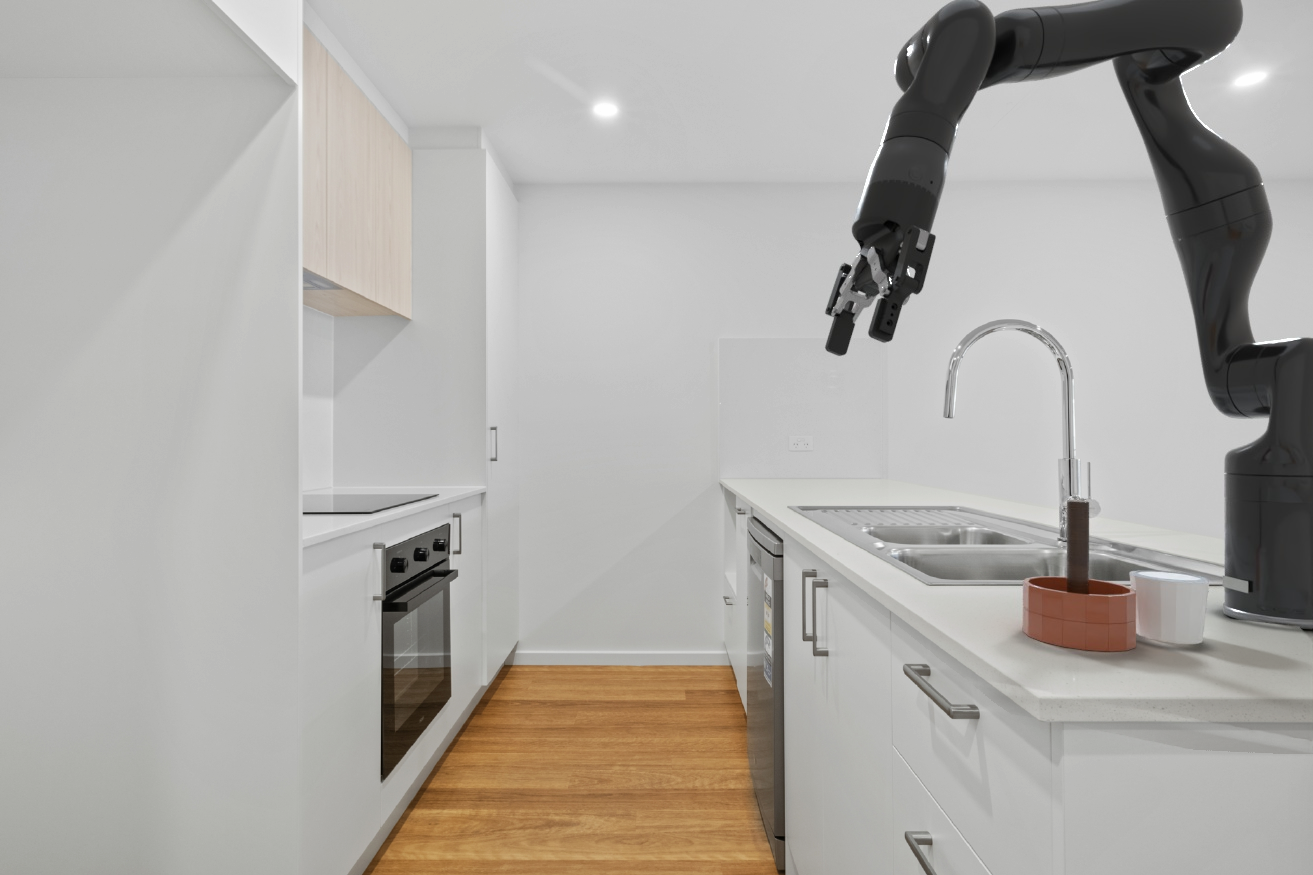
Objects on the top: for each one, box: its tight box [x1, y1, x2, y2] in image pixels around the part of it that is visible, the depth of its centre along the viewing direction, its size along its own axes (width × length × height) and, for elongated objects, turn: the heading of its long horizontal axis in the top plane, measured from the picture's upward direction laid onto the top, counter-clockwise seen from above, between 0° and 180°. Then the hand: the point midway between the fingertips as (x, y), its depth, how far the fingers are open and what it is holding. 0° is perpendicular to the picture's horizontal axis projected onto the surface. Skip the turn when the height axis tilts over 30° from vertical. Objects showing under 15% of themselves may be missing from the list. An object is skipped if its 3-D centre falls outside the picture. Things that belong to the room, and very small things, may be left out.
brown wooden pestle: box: [1066, 499, 1090, 594], centre depth 72 cm, size 3×3×14 cm
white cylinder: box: [1128, 569, 1210, 645], centre depth 73 cm, size 7×7×7 cm
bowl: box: [1022, 575, 1137, 653], centre depth 72 cm, size 10×10×6 cm
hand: (855, 346), depth 68 cm, fingers open, 8 cm apart
